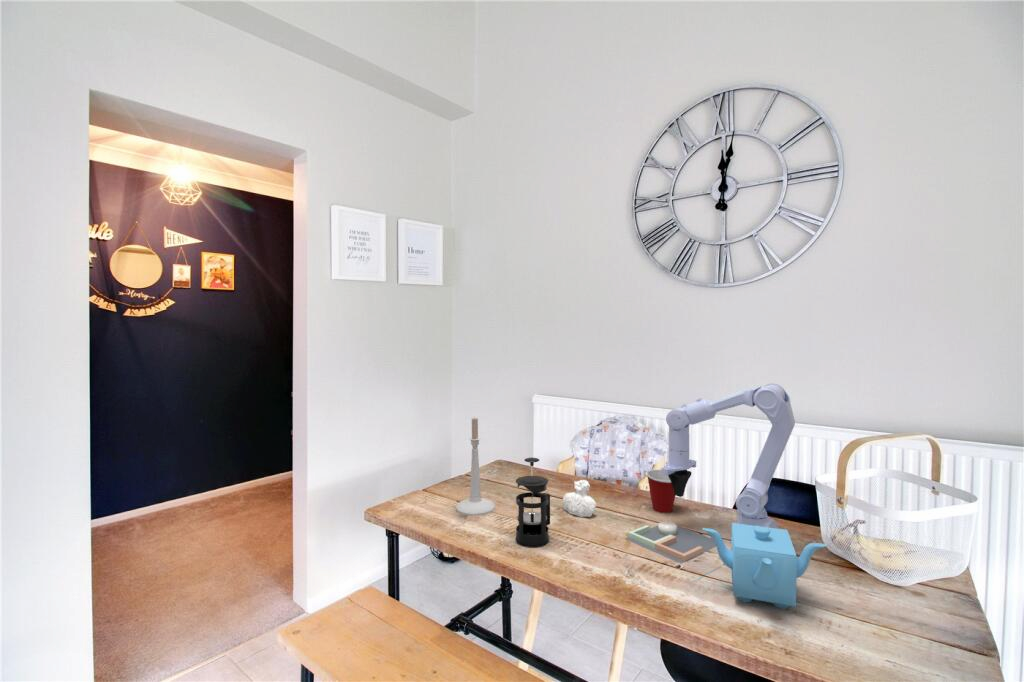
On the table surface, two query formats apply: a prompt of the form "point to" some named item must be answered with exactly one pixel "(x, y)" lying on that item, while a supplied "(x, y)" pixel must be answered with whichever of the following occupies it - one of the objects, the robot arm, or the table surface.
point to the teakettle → (763, 563)
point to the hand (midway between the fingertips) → (678, 495)
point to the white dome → (667, 528)
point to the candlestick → (475, 483)
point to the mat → (678, 541)
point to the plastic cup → (660, 491)
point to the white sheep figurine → (579, 500)
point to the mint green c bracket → (637, 536)
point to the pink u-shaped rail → (682, 556)
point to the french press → (532, 520)
